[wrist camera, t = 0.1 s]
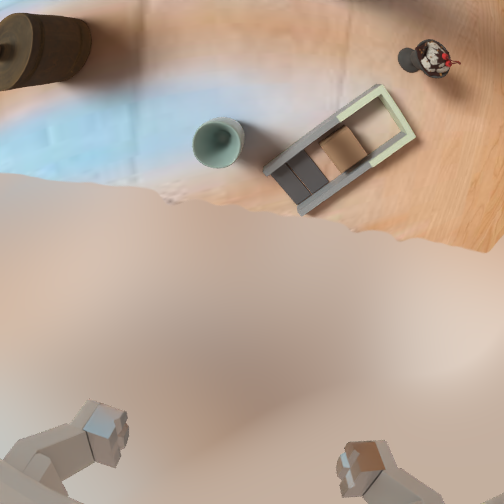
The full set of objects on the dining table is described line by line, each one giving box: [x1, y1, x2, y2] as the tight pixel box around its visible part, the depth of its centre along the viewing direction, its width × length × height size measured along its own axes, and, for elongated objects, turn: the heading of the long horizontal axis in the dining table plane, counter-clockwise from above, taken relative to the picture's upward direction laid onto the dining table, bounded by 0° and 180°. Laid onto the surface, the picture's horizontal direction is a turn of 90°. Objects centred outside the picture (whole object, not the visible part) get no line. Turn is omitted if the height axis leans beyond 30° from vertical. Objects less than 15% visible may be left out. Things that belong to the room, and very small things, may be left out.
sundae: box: [398, 39, 461, 78], centre depth 36 cm, size 7×7×15 cm
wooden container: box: [0, 13, 91, 91], centre depth 34 cm, size 15×15×22 cm
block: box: [319, 125, 367, 173], centre depth 51 cm, size 6×6×4 cm
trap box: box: [263, 84, 416, 217], centre depth 51 cm, size 27×11×4 cm, turn 131°
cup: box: [192, 117, 245, 168], centre depth 49 cm, size 8×8×10 cm
